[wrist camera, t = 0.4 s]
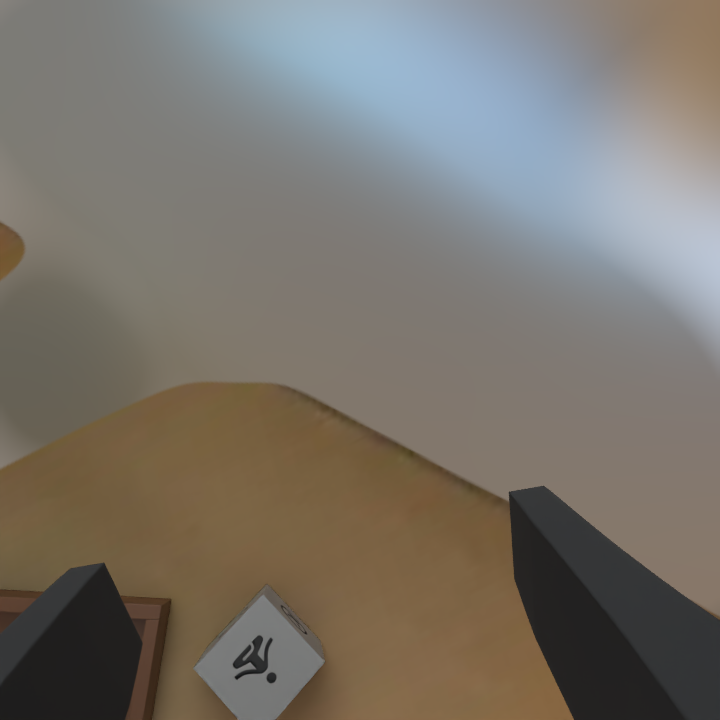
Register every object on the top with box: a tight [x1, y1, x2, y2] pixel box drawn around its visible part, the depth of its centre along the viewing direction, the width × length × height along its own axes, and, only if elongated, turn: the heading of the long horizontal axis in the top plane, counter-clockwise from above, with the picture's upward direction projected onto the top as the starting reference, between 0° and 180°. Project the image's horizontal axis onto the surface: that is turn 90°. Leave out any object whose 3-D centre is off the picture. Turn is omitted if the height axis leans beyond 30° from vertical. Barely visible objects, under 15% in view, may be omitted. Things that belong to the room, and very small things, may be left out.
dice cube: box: [194, 584, 325, 720], centre depth 31 cm, size 5×5×5 cm
